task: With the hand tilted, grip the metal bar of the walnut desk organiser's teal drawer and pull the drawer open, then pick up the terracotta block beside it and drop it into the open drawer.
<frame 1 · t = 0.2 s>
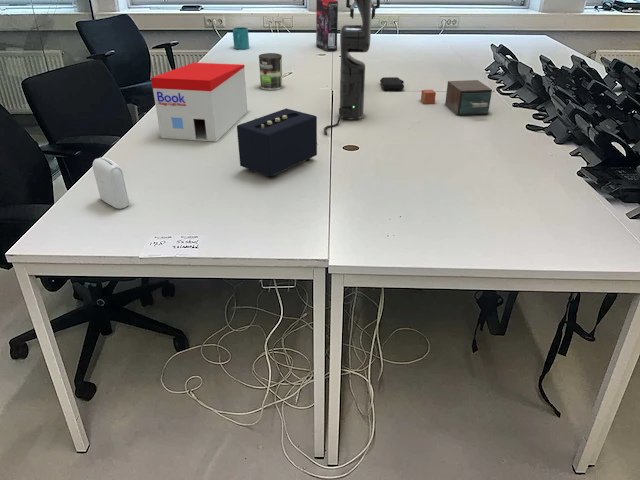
hand: (362, 18, 229), 29 cm above the table, tool pointing down, fingers open, 8 cm apart
graphics card box: (326, 49, 317), on the table
coffee can: (271, 87, 243), on the table
photo printer: (115, 202, 143), on the table
organiser: (466, 109, 213), on the table
cup: (241, 49, 318), on the table
bookstore: (207, 124, 199), on the table
drawer: (471, 100, 207), point 5 cm above the table, slide at 0.0 cm, touching organiser
speaker: (279, 165, 165), on the table
block: (427, 102, 222), on the table
carrying case: (392, 87, 242), on the table
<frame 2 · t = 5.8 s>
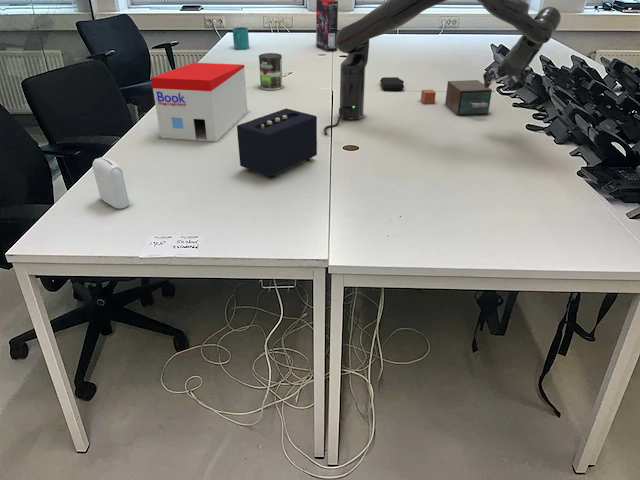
hand: (497, 85, 184), 16 cm above the table, tool tilted 45°, fingers open, 8 cm apart
nothing on the table moved.
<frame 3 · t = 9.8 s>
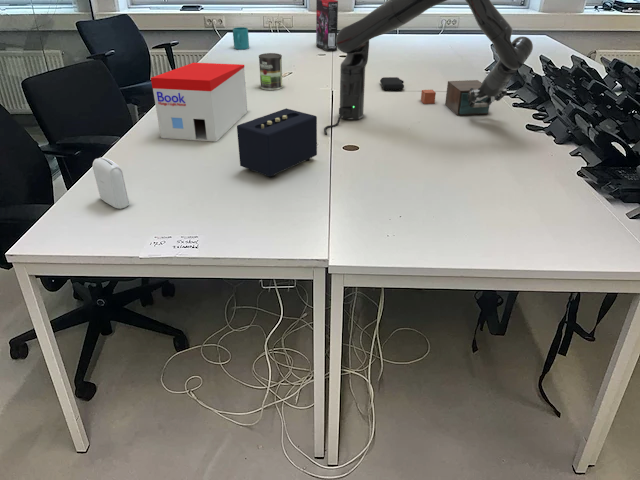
hand: (478, 104, 201), 5 cm above the table, tool tilted 45°, fingers closed on drawer, 5 cm apart
drawer: (471, 100, 207), point 5 cm above the table, slide at 0.0 cm, touching gripper
everything else where it was.
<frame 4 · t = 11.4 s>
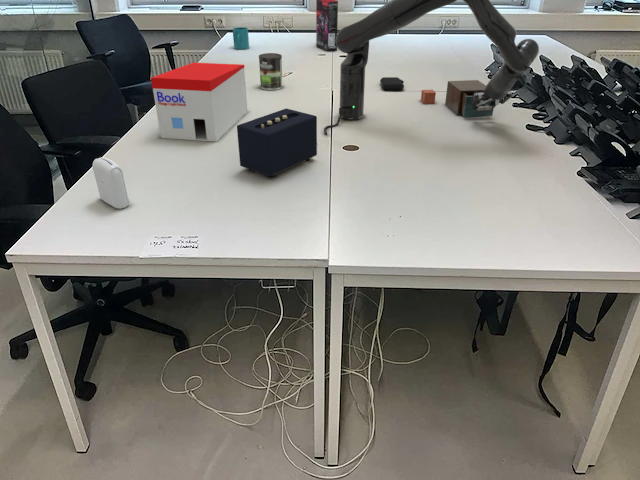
hand: (482, 107, 198), 5 cm above the table, tool tilted 45°, fingers closed on drawer, 5 cm apart
drawer: (475, 103, 204), point 5 cm above the table, slide at 3.9 cm, touching gripper
everything else where it was.
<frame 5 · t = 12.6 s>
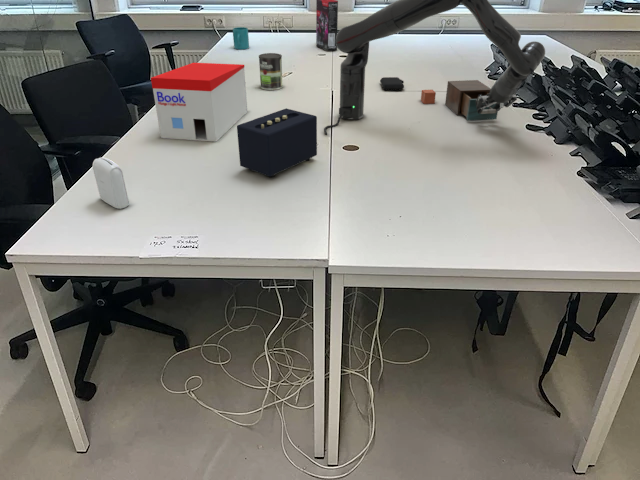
hand: (486, 110, 194), 5 cm above the table, tool tilted 45°, fingers closed on drawer, 5 cm apart
drawer: (479, 106, 201), point 5 cm above the table, slide at 7.9 cm, touching gripper
everything else where it was.
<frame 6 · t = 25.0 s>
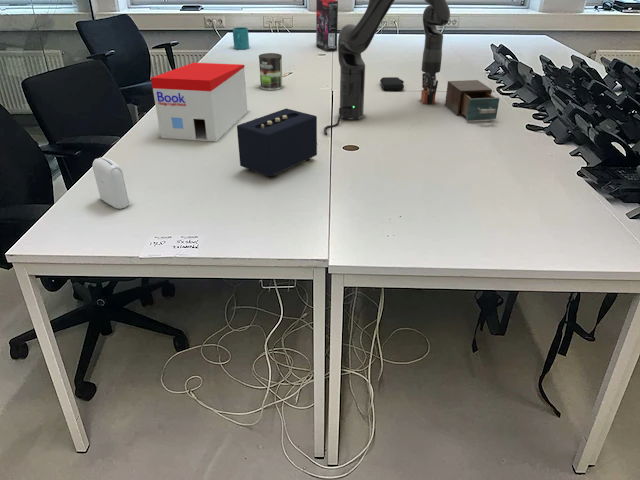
hand: (427, 101, 222), 0 cm above the table, tool pointing down, fingers closed on block, 4 cm apart
drawer: (478, 105, 201), point 5 cm above the table, slide at 7.5 cm
block: (427, 102, 222), on the table, touching gripper
everything else where it was.
when the fingers open (10 cm above the table, at t = 31.3 s): block drops 8 cm, resting on drawer.
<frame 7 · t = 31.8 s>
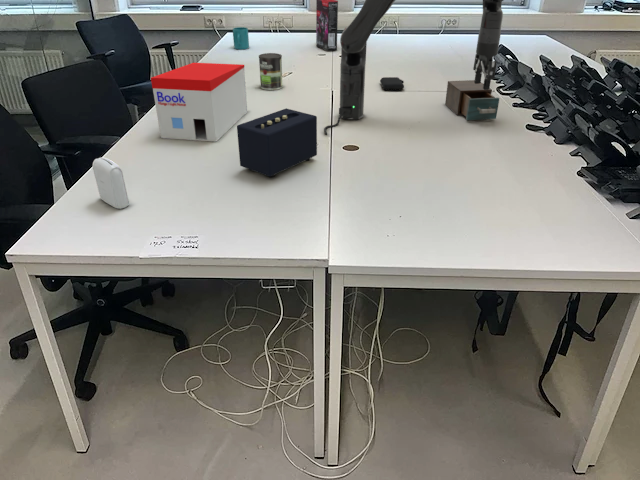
hand: (481, 86, 197), 12 cm above the table, tool pointing down, fingers open, 8 cm apart
drawer: (478, 105, 201), point 5 cm above the table, slide at 7.5 cm, touching block
block: (477, 113, 202), point 2 cm above the table, touching drawer
everything else where it was.
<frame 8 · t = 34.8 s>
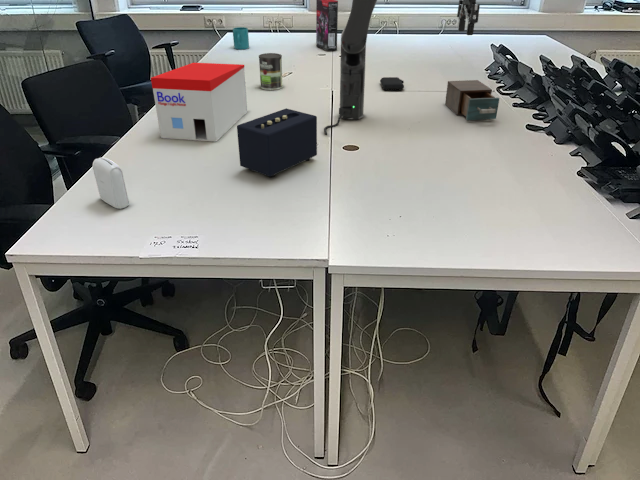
hand: (465, 33, 192), 30 cm above the table, tool pointing down, fingers open, 8 cm apart
nothing on the table moved.
at the end: drawer slide at 7.5 cm; block inside the target area in the drawer (1.6 cm from its centre), point 2.0 cm above the organiser's base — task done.
